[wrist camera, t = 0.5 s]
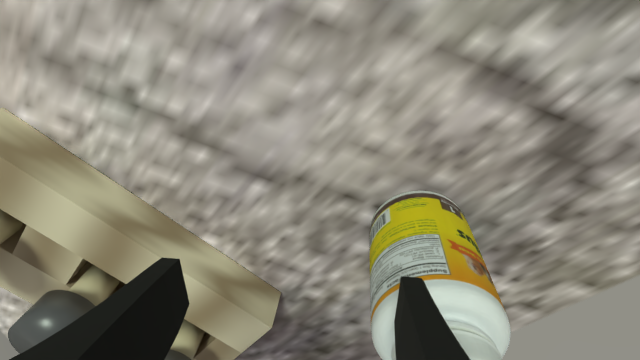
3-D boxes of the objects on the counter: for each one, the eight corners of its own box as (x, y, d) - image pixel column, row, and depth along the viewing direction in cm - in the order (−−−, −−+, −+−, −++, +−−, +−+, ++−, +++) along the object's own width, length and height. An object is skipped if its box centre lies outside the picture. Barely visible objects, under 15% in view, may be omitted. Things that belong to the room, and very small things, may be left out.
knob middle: (141, 276, 23) (87, 348, 19) (118, 304, 25) (63, 377, 20) (88, 244, 23) (19, 311, 18) (68, 276, 24) (-1, 345, 20)
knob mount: (281, 292, 26) (271, 328, 23) (208, 356, 30) (193, 392, 28) (3, 107, 21) (-48, 126, 19) (-37, 214, 26) (-82, 241, 23)
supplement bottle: (472, 253, 23) (541, 433, 14) (382, 269, 24) (392, 442, 15) (456, 174, 20) (529, 330, 11) (358, 197, 22) (353, 353, 13)
